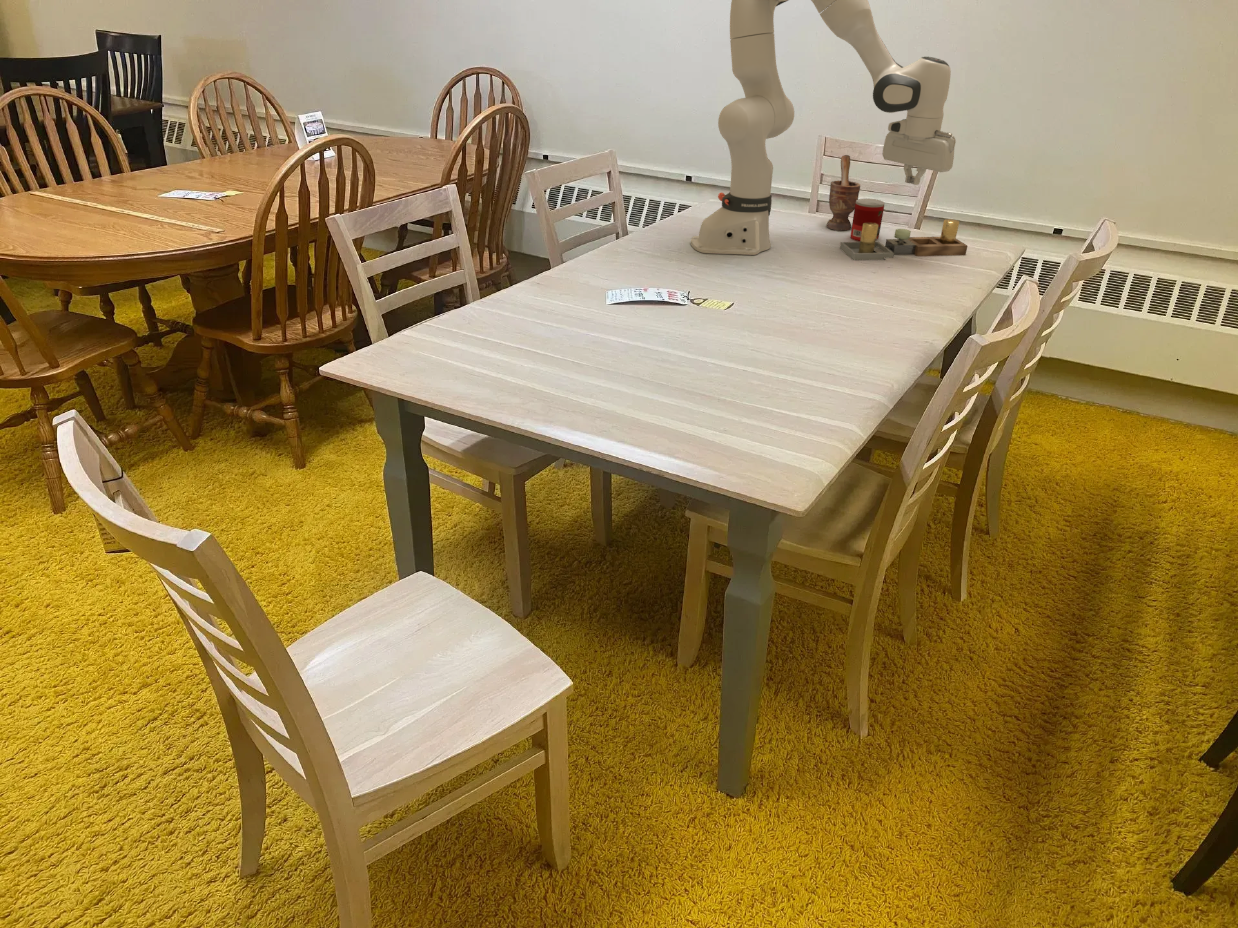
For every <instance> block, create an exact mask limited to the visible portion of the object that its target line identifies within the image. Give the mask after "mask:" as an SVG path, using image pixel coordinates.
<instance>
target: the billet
mask: <svg viewBox="0 0 1238 928" xmlns="http://www.w3.org/2000/svg"><path fill="white" fill-rule="evenodd" d="M877 230H878V224H876V223H870V222H867V223H863V228H862V234H861V240H860V241H859V242H860V246H859V252H858V253H874V251H875V242H876V241H877V240H876V236H877Z"/></svg>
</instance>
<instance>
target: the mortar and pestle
mask: <svg viewBox="0 0 1238 928" xmlns="http://www.w3.org/2000/svg"><path fill="white" fill-rule="evenodd" d="M850 168H851V156H850V154H849V155H847V154H845V155H844V154H843V155H842V156H841V158H840V171H841V172H840V173H841V174H840V175H841V180H832V181H831V182H830V187H829V196H828V202H829V203H828V204H829V205H828V206H829V210H830V212H831V213H832V215H833V216H832V218H831V219H829V220H828V221H827V223H826V228H828V229H830V230H833V231H837V232H839V231H840V232H841V231H848V230H850V231H851V229H852V223H851V221H850V219H849V216H850V215H851V214H852V213H854V209H855V203H856V200H858V199H859V194H860V190H861V184H860V183H859V182H856V181H850V180H849V177H850V175H849V174H850V173H849V172H850Z"/></svg>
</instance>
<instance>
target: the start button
mask: <svg viewBox="0 0 1238 928" xmlns="http://www.w3.org/2000/svg"><path fill="white" fill-rule="evenodd" d="M911 232H912V230H910V229H906V228H897V229H895V232H894V236H893V237H894V239H899V241H898V244H902V243H904V240H906V239H909V238H910V237H911Z"/></svg>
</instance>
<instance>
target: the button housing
mask: <svg viewBox="0 0 1238 928" xmlns="http://www.w3.org/2000/svg"><path fill="white" fill-rule="evenodd" d="M898 241H899V239H897V238H891V239H890V238H887V239H885V245H884V246H885V247H887V248H888V249H889V250H891V251H892V252H893V253H894V256H897V255H899V256H901V255H902V256H903V255H905V256H906V255H908V256H909V255H914V253H915V248H916V245H915V244H914V243H912V242H911V241H909V240H908V239H906V240H904V243H902V244H898Z"/></svg>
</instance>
